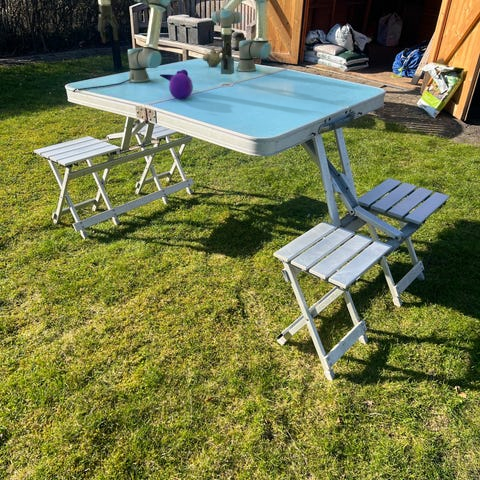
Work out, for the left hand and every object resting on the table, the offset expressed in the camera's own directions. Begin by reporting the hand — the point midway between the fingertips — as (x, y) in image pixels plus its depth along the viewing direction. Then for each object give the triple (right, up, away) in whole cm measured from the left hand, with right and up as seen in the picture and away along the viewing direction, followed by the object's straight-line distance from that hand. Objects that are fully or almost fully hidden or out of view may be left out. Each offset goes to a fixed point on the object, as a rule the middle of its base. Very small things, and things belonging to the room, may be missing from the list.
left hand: (110, 41), depth 294 cm
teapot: (+63, +21, +96) cm, 117 cm away
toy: (+45, -38, -3) cm, 59 cm away
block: (+76, -8, +36) cm, 84 cm away
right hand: (+76, -5, +34) cm, 83 cm away
